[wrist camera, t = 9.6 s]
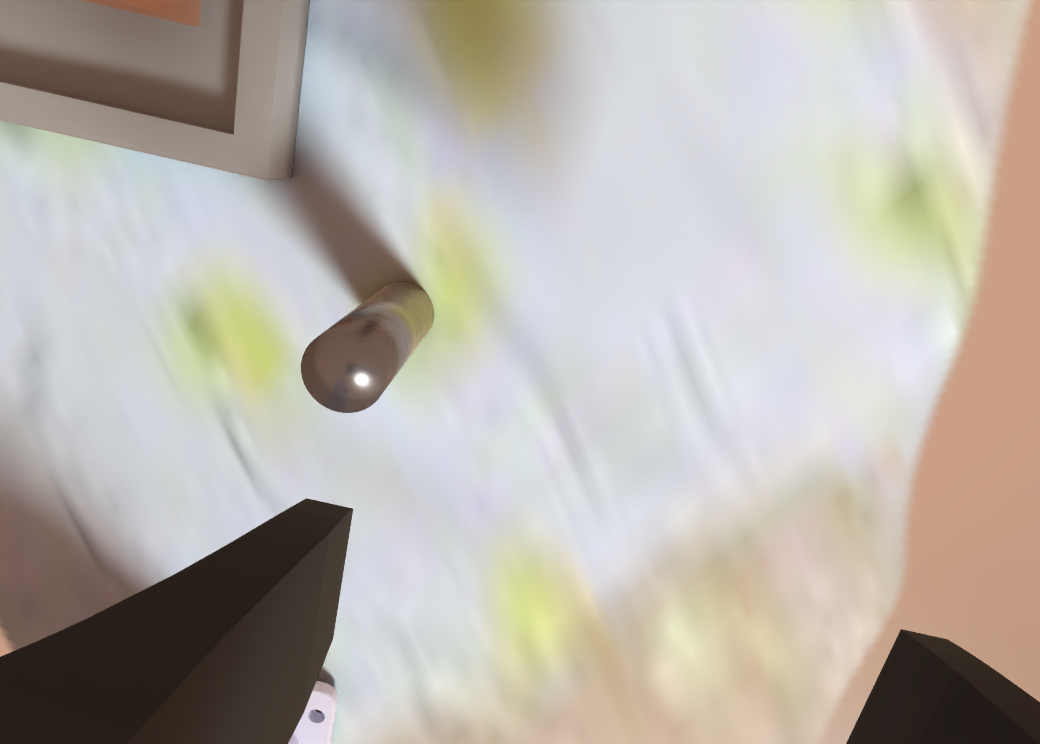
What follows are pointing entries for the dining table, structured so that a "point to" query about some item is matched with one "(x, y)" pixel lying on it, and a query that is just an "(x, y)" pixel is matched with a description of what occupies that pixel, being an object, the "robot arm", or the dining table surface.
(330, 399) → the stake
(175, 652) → the robot arm
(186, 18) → the collar
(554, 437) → the dining table surface
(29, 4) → the slate tray
